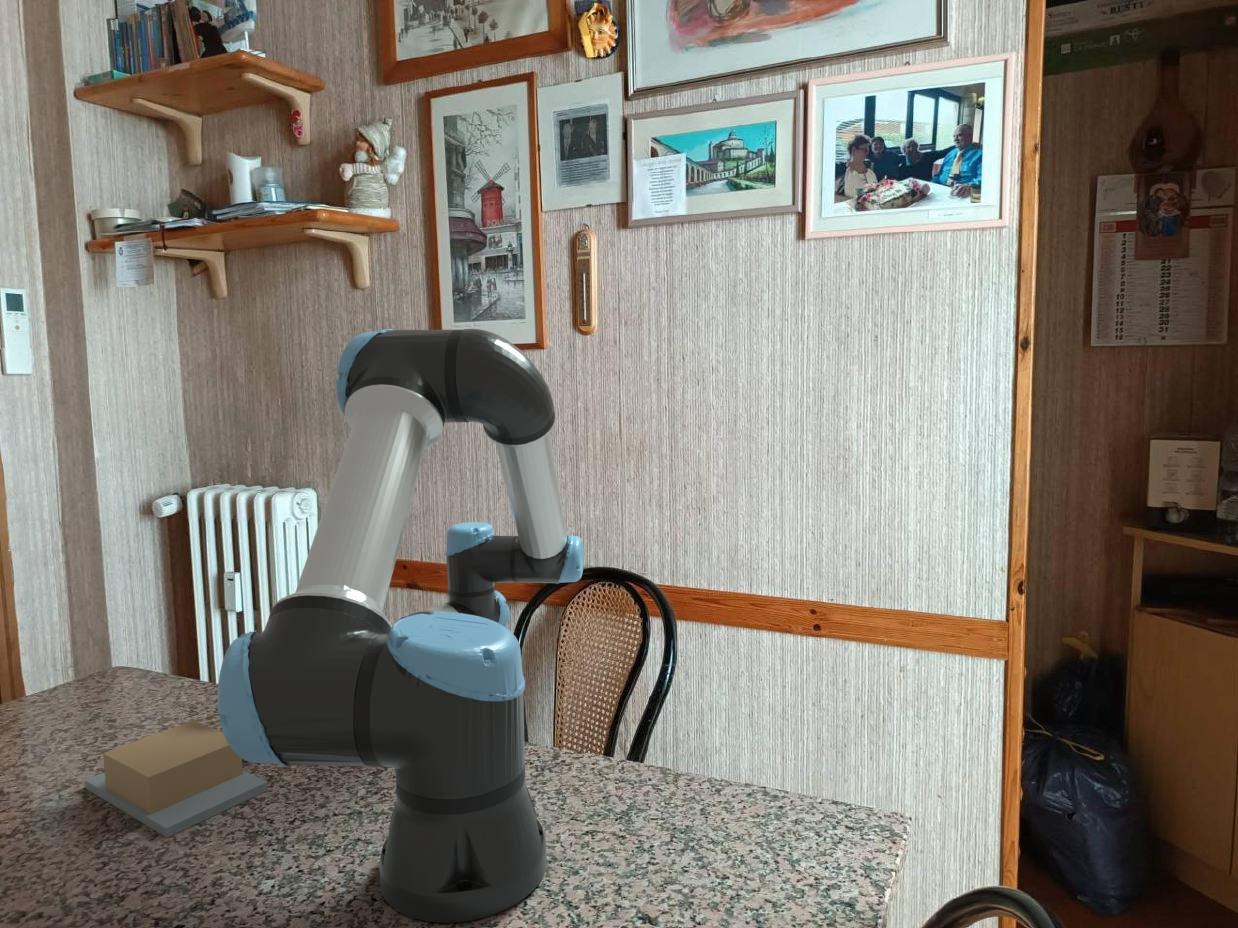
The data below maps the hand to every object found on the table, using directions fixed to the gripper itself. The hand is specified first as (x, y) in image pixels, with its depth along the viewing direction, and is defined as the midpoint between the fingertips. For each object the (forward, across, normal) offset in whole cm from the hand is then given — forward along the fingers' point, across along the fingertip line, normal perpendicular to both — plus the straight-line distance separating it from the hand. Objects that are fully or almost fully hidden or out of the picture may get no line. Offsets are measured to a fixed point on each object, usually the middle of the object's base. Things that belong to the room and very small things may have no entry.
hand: (304, 678), depth 105 cm
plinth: (+18, -2, -6) cm, 19 cm away
